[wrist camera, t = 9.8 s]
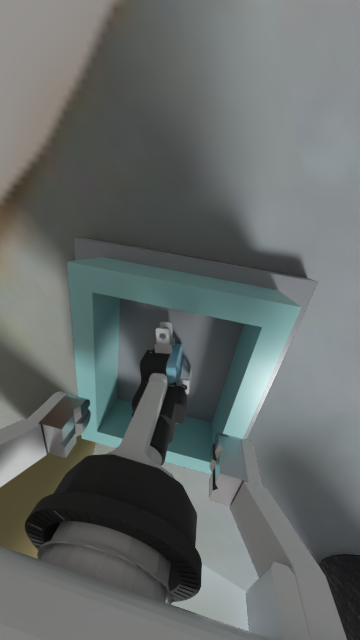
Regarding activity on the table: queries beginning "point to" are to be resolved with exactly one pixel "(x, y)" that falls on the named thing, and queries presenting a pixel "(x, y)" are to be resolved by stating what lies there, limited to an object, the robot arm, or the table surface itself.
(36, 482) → the squeeze bottle
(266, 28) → the table surface
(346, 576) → the travel mug
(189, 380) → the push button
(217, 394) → the socket plate
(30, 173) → the table surface
